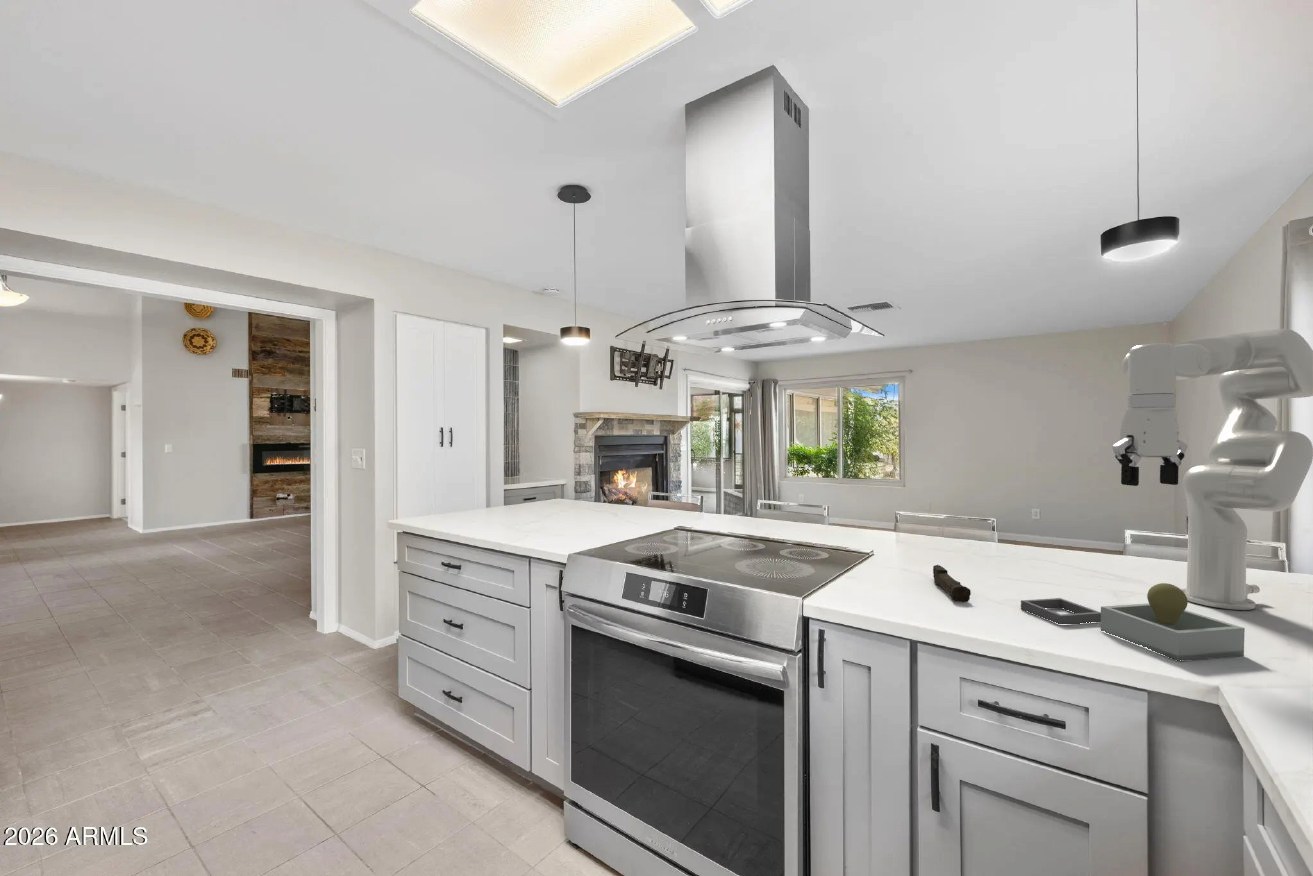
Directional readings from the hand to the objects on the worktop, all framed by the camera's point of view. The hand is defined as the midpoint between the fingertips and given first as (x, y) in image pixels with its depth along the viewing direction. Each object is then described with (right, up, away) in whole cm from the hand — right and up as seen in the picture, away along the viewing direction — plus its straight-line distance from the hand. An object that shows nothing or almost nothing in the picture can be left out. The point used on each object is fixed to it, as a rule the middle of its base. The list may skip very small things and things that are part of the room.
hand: (1149, 484), depth 116 cm
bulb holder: (-17, -28, +2) cm, 33 cm away
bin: (-8, -29, -13) cm, 32 cm away
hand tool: (-32, -28, +20) cm, 48 cm away
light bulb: (-8, -28, -12) cm, 31 cm away
